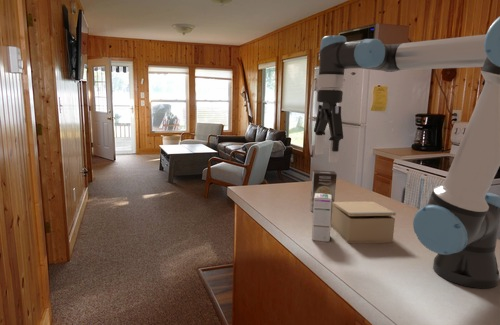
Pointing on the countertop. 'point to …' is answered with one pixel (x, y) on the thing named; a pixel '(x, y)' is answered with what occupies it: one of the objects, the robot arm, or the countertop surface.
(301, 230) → the countertop surface
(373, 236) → the cardboard box
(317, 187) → the coffee box
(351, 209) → the box lid
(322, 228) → the syrup box
